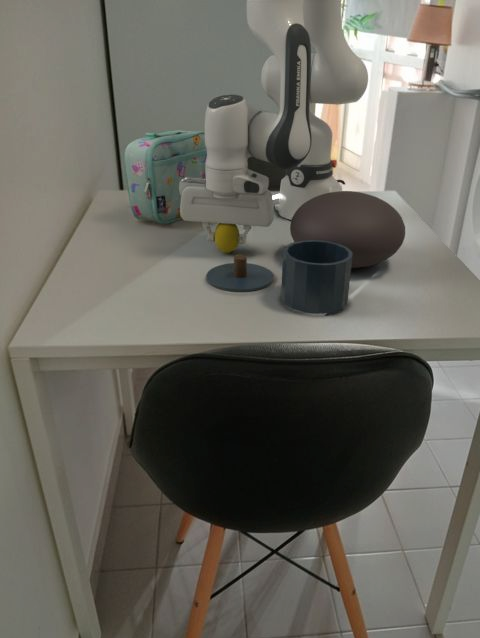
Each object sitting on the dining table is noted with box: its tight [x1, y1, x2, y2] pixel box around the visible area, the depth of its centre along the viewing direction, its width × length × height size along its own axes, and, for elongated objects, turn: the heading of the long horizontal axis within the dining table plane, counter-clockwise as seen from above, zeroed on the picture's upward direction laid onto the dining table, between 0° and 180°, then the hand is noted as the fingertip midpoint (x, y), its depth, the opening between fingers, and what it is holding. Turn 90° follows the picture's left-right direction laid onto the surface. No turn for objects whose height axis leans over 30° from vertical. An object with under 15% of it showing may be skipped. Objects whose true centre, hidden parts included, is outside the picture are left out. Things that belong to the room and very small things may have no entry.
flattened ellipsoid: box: [289, 190, 406, 269], centre depth 131 cm, size 25×25×15 cm
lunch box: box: [123, 129, 207, 225], centre depth 155 cm, size 27×10×21 cm, turn 150°
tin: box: [280, 240, 353, 317], centre depth 114 cm, size 13×13×10 cm
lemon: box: [214, 223, 240, 254], centre depth 134 cm, size 6×6×8 cm
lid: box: [206, 254, 275, 293], centre depth 123 cm, size 14×14×5 cm
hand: (227, 241), depth 135 cm, fingers closed on lemon, 5 cm apart
